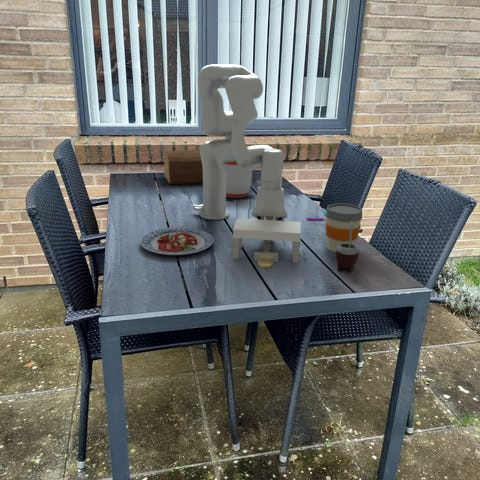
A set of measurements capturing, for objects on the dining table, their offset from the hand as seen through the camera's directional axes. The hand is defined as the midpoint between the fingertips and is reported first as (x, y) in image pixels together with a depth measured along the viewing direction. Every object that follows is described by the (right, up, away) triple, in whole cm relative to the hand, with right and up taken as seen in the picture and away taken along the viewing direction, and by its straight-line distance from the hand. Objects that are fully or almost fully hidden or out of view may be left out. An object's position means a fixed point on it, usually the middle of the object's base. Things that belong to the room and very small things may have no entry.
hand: (268, 232), depth 172 cm
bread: (-35, +30, +81) cm, 93 cm away
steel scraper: (-1, -6, -7) cm, 9 cm away
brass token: (-2, -11, -19) cm, 22 cm away
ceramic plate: (-33, -5, -4) cm, 34 cm away
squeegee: (+23, +4, +23) cm, 32 cm away
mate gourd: (+24, -12, -20) cm, 33 cm away
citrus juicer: (-12, +19, +55) cm, 59 cm away
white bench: (-2, -8, -11) cm, 13 cm away
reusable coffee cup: (+25, -6, -4) cm, 26 cm away
